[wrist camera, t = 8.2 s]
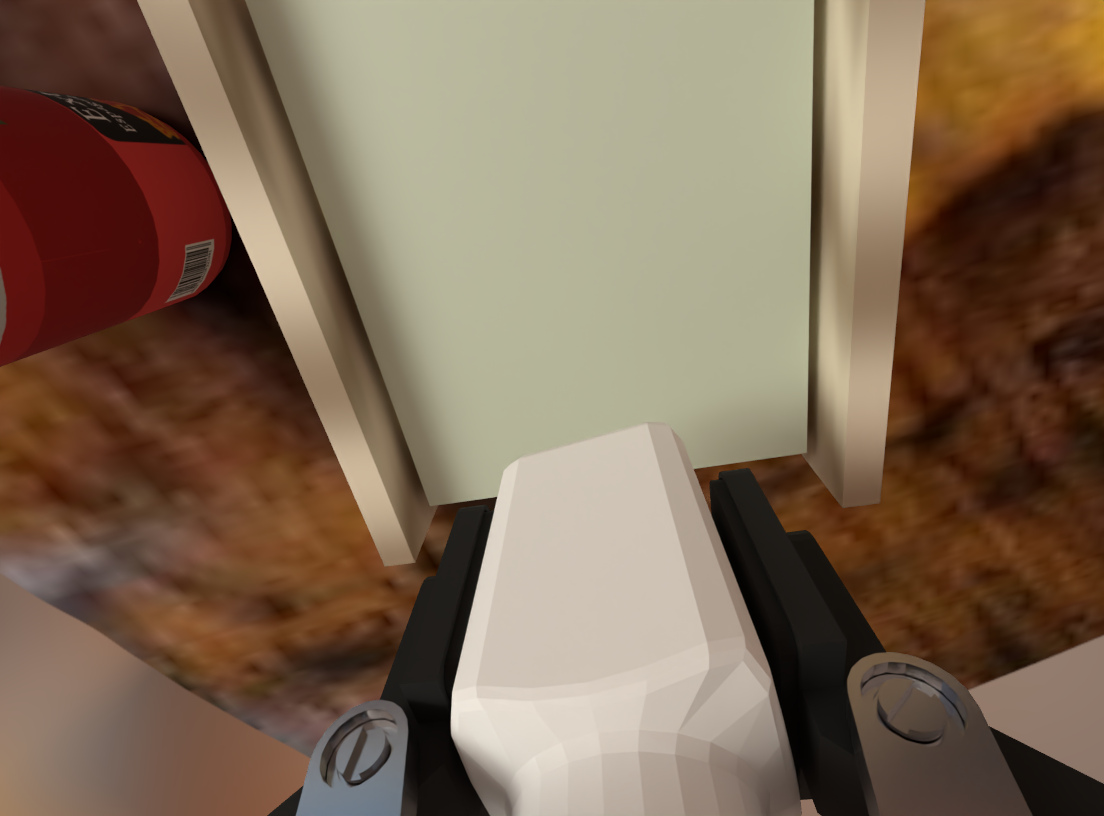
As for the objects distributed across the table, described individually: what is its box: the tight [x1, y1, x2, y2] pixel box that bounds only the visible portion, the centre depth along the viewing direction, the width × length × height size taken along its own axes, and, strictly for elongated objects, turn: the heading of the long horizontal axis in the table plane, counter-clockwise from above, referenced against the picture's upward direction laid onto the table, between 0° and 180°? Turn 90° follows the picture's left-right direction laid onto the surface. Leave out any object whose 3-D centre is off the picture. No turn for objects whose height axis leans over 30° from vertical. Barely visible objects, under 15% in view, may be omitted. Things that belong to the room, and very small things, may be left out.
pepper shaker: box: [451, 422, 802, 816], centre depth 8 cm, size 4×4×10 cm
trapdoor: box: [245, 0, 814, 506], centre depth 14 cm, size 14×12×2 cm
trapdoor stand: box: [137, 0, 925, 566], centre depth 17 cm, size 18×15×11 cm
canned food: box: [0, 86, 232, 367], centre depth 17 cm, size 8×8×11 cm
